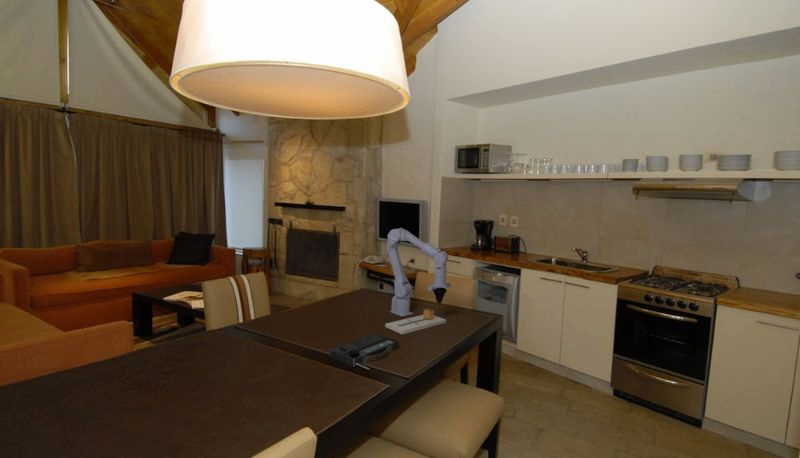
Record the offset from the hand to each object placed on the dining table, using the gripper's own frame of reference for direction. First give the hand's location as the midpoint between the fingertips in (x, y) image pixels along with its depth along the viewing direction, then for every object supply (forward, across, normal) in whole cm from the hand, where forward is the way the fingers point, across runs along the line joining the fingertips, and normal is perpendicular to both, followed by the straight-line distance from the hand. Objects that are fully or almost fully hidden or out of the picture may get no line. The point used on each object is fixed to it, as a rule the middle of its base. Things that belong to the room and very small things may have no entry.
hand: (439, 302), depth 200 cm
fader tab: (+6, -7, 0) cm, 9 cm away
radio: (+9, -53, -16) cm, 56 cm away
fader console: (+8, -15, 0) cm, 17 cm away
